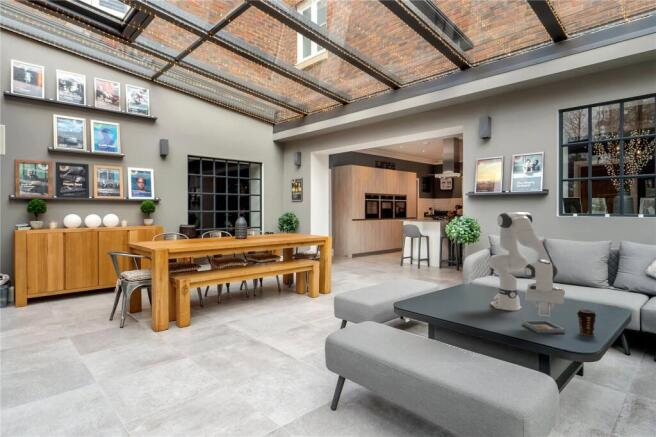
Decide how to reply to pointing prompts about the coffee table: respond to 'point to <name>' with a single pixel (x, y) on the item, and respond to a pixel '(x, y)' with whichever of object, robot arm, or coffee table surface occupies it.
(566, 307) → the coffee table surface
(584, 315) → the coffee cup
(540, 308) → the shaker
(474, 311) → the coffee table surface
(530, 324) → the tray
